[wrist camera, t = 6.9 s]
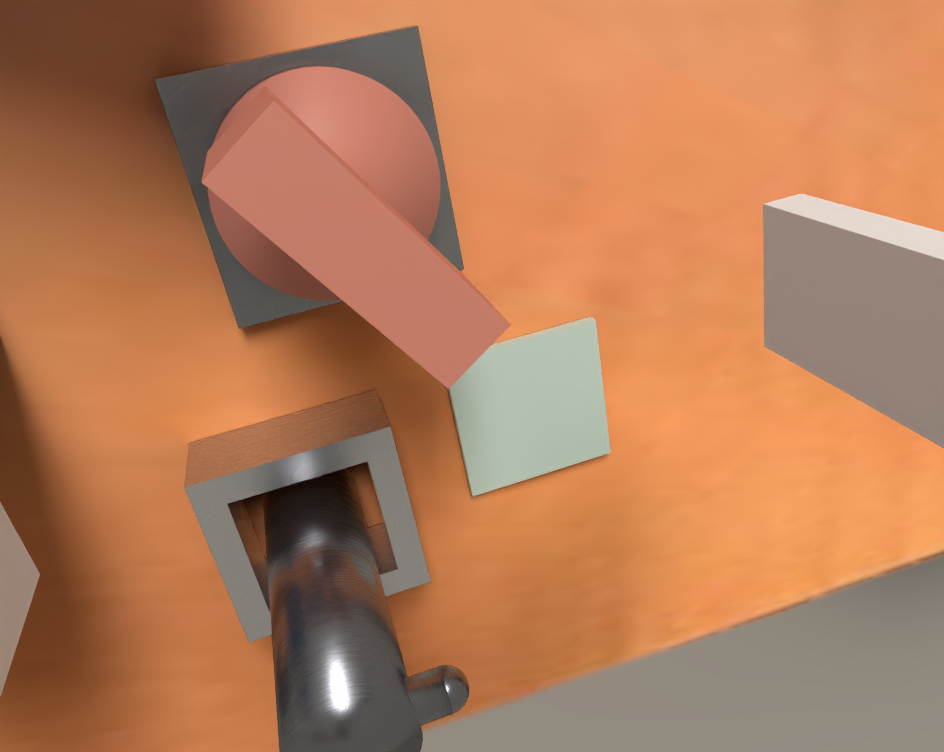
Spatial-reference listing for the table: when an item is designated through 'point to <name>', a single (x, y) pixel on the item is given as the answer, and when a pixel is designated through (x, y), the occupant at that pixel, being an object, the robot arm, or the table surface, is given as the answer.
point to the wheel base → (218, 88)
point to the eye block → (291, 461)
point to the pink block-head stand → (346, 211)
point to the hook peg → (340, 631)
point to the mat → (531, 406)
